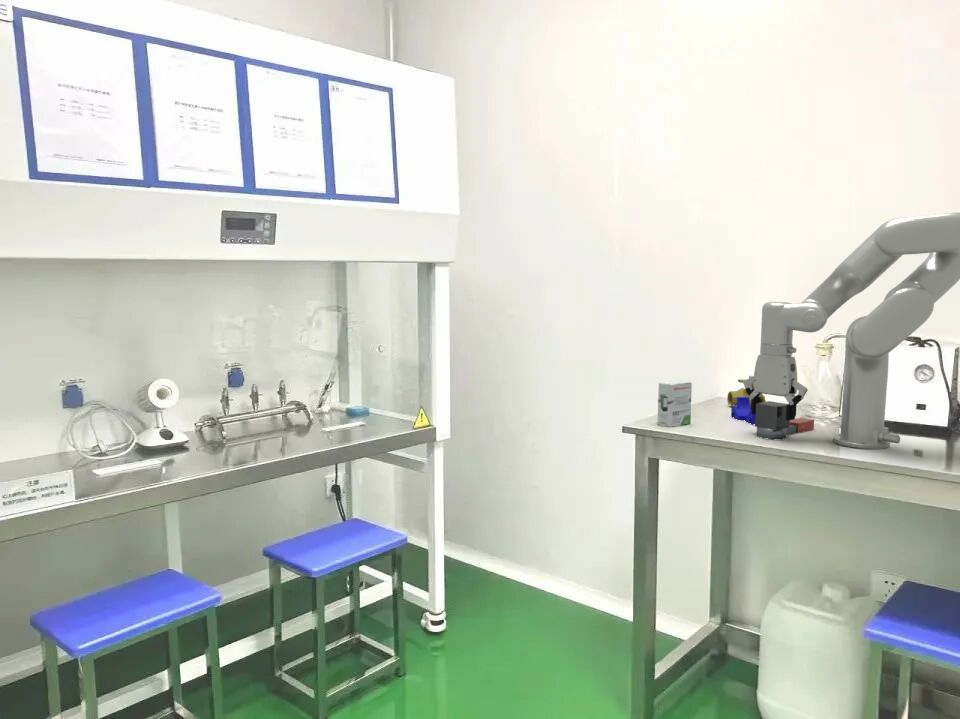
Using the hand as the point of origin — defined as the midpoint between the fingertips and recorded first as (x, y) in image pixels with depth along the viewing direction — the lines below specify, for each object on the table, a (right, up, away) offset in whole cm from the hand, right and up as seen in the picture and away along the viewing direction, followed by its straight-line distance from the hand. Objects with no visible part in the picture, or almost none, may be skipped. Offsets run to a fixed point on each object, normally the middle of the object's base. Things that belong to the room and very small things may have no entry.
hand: (772, 416), depth 197 cm
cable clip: (+1, -3, +21) cm, 21 cm away
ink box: (-21, -3, +16) cm, 27 cm away
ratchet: (+5, -5, +5) cm, 9 cm away
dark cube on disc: (0, -3, 0) cm, 3 cm away
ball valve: (+8, -1, +43) cm, 44 cm away
